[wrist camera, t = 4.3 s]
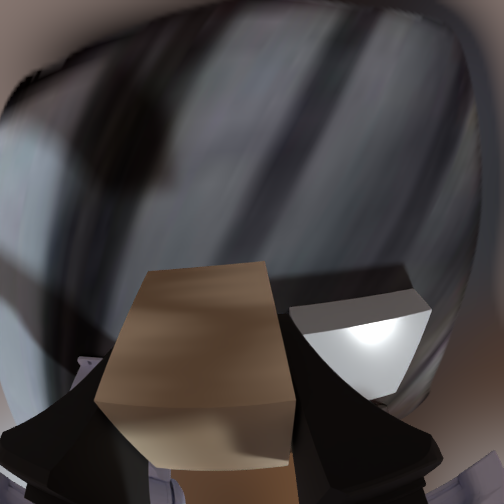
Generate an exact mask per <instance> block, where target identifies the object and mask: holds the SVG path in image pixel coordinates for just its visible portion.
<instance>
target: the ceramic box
mask: <svg viewBox="0 0 504 504" xmlns="http://www.w3.org/2000/svg"><path fill="white" fill-rule="evenodd" d="M431 311H432V309H431V308H430V307H429V305H428V304H427V303H426V302H425V301H424V300H423V299H422V297H421V296H420V295H419V294H418V293H417V292H416V291H415V290H414V288H413V289H408V290H402V291H397V292H391V293H385V294H380V295H374V296H368V297H361V298H355V299H348V300H341V301H334V302H327V303H320V304H312V305H304V306H296V307H289V315H290V316H291V318H292V320H293V321H294V323H295V325H296V326H297V327H298V329H299V330H300V332H301V333H302V334H303V336H304V337H305V338H306V340H307V341H308V342H309V344H310V345H311V346H312V347H313V348H314V350H315V351H316V352H317V353H318V354H319V355H320V357H321V358H322V359H323V360H324V361H325V362H326V363H327V364H328V365H329V366H330V367H331V368H332V369H333V370H334V371H335V372H336V373H337V374H338V375H339V376H340V377H341V378H342V379H343V380H344V381H345V382H346V383H348V384H349V385H350V386H351V387H352V388H353V389H355V390H356V391H357V392H358V393H360V394H361V395H362V396H364V397H365V398H366V399H368V400H372V399H375V398H379V397H382V396H385V395H389V394H392V393H395V392H396V391H397V389H398V387H399V385H400V383H401V381H402V379H403V377H404V375H405V373H406V371H407V369H408V367H409V365H410V362H411V360H412V358H413V356H414V354H415V351H416V349H417V347H418V344H419V342H420V340H421V337H422V335H423V332H424V330H425V327H426V324H427V322H428V319H429V316H430V314H431Z"/></svg>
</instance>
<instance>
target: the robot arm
mask: <svg viewBox="0 0 504 504" xmlns="http://www.w3.org/2000/svg"><path fill="white" fill-rule="evenodd" d="M277 317H278V321H279V326H280V330H281V334H282V339H283V343H284V348H285V352H286V357H287V361H288V366H289V370H290V375H291V379H292V384H293V388H294V393H295V398H296V405H295V415H294V423H293V432H292V440H291V446H292V453H293V459H294V466H295V474H296V482H297V489H298V497H299V504H504V468H503V466H502V464H501V461H500V460H499V457H498V455H497V453H496V451H495V450H493V451H491V452H490V453H489V454H488V455H486V456H485V457H484V458H482V459H481V460H479V461H478V462H476V463H475V464H473V465H472V466H471V467H469V468H468V469H466V470H465V471H463V472H462V473H461V474H459V475H458V476H457V477H455V478H454V479H452V480H450V481H449V482H447V483H445V484H443V485H442V486H440V487H438V488H436V489H434V490H433V491H431V492H429V493H427V494H425V493H424V490H423V487H424V486H426V482H425V480H424V476H425V475H427V474H428V473H429V472H431V471H432V470H433V469H435V468H436V467H437V466H439V465H440V464H441V462H442V461H443V456H442V454H441V452H440V449H439V447H438V445H437V443H436V442H435V440H434V439H433V438H432V436H431V435H430V434H428V433H426V432H424V431H421V430H419V429H417V428H415V427H413V426H411V425H408V424H407V423H404V422H403V421H401V420H399V419H397V418H396V417H394V416H392V415H390V414H389V413H387V412H386V411H384V410H383V409H381V408H380V407H378V406H377V405H375V404H374V403H372V402H371V401H369V400H368V399H366V398H365V397H364V396H362V395H361V394H360V393H358V392H357V391H356V390H355V389H353V388H352V387H351V386H350V385H349V384H348V383H346V382H345V381H344V380H343V379H342V378H341V377H340V376H339V375H338V374H337V373H336V372H335V371H334V370H333V369H332V368H331V367H330V366H329V365H328V364H327V363H326V362H325V361H324V360H323V359H322V358H321V357H320V355H319V354H318V353H317V352H316V351H315V350H314V348H313V347H312V346H311V345H310V344H309V342H308V341H307V340H306V338H305V337H304V336H303V334H302V333H301V332H300V330H299V329H298V327H297V326H296V325H295V323H294V321H293V320H292V318H291V316H290V315H289V314H278V315H277ZM114 346H115V345H114ZM113 348H114V347H113ZM113 348H112V349H111V350H110V351H109V352H108V353H107V354H106V356H105V357H104V358H95V357H83V356H79V357H78V359H77V361H78V363H79V364H80V368H79V371H78V373H77V375H76V377H75V380H74V382H73V384H72V387H71V389H70V391H69V392H68V393H67V394H66V395H65V396H63V397H62V398H61V399H59V400H58V401H57V402H55V403H54V404H53V405H51V406H50V407H49V408H47V409H46V410H44V411H43V412H41V413H39V414H38V415H36V416H35V417H33V418H31V419H29V420H28V421H26V422H24V423H22V424H20V425H18V426H15V427H13V428H11V429H9V430H7V431H4V432H3V433H2V435H1V438H0V465H1V466H3V467H4V468H5V469H7V470H8V471H9V472H11V473H12V474H14V475H16V476H17V477H19V478H20V479H22V480H23V481H25V482H26V483H27V486H26V489H25V488H23V487H22V486H20V485H18V484H16V483H15V482H13V481H11V480H10V479H9V478H8V477H6V476H5V475H3V474H2V473H0V504H185V497H184V493H183V491H182V489H181V487H180V486H179V484H178V482H177V481H175V480H174V479H171V478H170V476H171V475H170V474H171V470H170V469H167V468H157V467H155V466H154V465H153V464H152V463H151V462H150V461H148V460H147V459H146V458H145V457H144V456H143V455H142V454H141V453H140V452H139V451H138V450H137V449H136V448H135V447H134V446H133V445H132V444H131V443H130V442H129V441H128V440H127V439H126V438H125V437H124V436H123V434H122V433H121V432H120V431H119V430H118V429H117V428H116V427H115V426H114V424H113V423H112V422H111V421H110V420H109V419H108V418H107V416H106V415H105V414H104V413H103V412H102V410H101V409H100V408H99V407H98V405H97V404H96V403H95V402H94V399H95V396H96V393H97V390H98V387H99V384H100V382H101V379H102V376H103V374H104V371H105V368H106V366H107V363H108V361H109V358H110V356H111V353H112V351H113Z"/></svg>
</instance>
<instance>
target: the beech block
mask: <svg viewBox="0 0 504 504" xmlns="http://www.w3.org/2000/svg"><path fill="white" fill-rule="evenodd" d="M94 402H95V403H96V404H97V405H98V407H99V408H100V409H101V410H102V412H103V413H104V414H105V415H106V416H107V418H108V419H109V420H110V421H111V422H112V423H113V424H114V426H115V427H116V428H117V429H118V430H119V431H120V432H121V433H122V434H123V436H124V437H125V438H126V439H127V440H128V441H129V442H130V443H131V444H132V445H133V446H134V447H135V448H136V449H137V450H138V451H139V452H140V453H141V454H142V455H143V456H144V457H145V458H146V459H147V460H148V461H150V462H151V463H152V464H153V465H154V466H155V467H157V468H167V469H180V470H203V471H204V470H205V471H223V470H224V471H225V470H248V469H261V468H271V467H279V466H287V465H288V462H289V455H290V448H291V440H292V432H293V423H294V415H295V405H296V398H295V393H294V388H293V384H292V379H291V375H290V370H289V366H288V361H287V357H286V352H285V348H284V343H283V339H282V334H281V330H280V326H279V321H278V317H277V312H276V308H275V304H274V299H273V295H272V291H271V286H270V282H269V278H268V273H267V269H266V265H265V261H262V262H251V263H240V264H229V265H217V266H206V267H194V268H183V269H171V270H159V271H148V273H147V275H146V277H145V279H144V281H143V283H142V285H141V287H140V289H139V291H138V293H137V295H136V298H135V300H134V302H133V304H132V306H131V309H130V311H129V313H128V315H127V317H126V320H125V322H124V324H123V327H122V329H121V331H120V334H119V336H118V338H117V341H116V343H115V346H114V348H113V351H112V353H111V356H110V358H109V361H108V363H107V366H106V368H105V371H104V374H103V376H102V379H101V382H100V384H99V387H98V390H97V393H96V396H95V399H94Z"/></svg>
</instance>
